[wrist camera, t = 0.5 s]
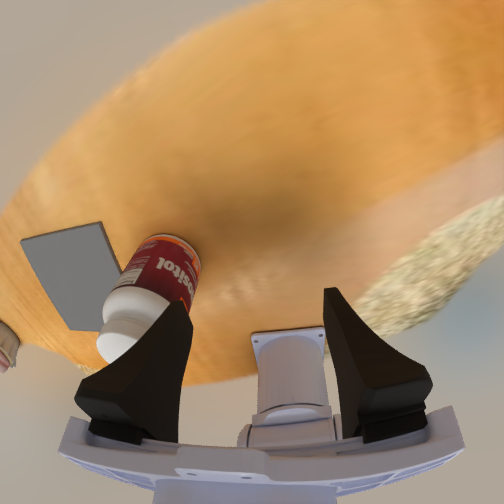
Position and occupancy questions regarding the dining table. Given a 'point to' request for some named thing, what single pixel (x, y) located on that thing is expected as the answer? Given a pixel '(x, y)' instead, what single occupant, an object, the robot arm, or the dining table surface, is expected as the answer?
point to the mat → (75, 272)
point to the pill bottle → (147, 292)
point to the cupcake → (7, 348)
